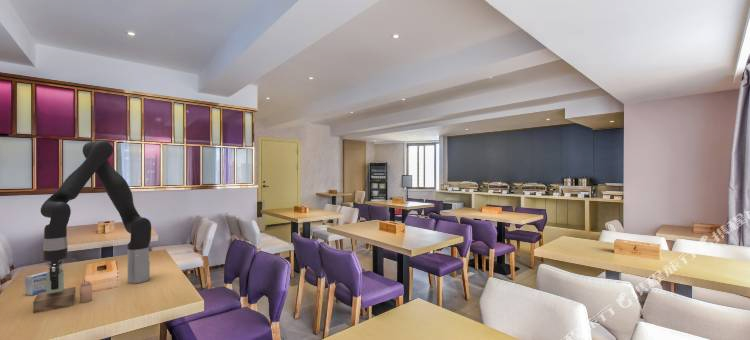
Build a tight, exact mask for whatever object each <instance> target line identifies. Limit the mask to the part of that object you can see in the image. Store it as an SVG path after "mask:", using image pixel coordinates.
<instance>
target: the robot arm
mask: <svg viewBox="0 0 750 340" xmlns="http://www.w3.org/2000/svg"><path fill="white" fill-rule="evenodd" d="M113 153H114V146H113V145H112V144H111V142H109V141H106V140H100V139H99V140H94V141H88V142H86V143H85V144H84V145H83V147H82V154H83V156H84V158H85V160H84V161H83V162H82V163H81V164H80V165H79V166H78V167H77V168H76V169H75V170H74V171H72V172H71V174H69V175H68V176H67V178H66V179H64V180H63V183H62V184H61V185H60V187H59V188H58V190H56V191H55V192H54V193H53V194H52V195H50V197H48V198H47V199H46V200H45V201H44V202H43V204H42V205H41V207H40V214H41V215H42V216H43V217H45V218H50V221H49V224H46V225H45V226H44V230H43V238H44V239H43V244H42V245H43V247H42V249H43V250H42V251H43V252H42V253H43V254H42V255H43V256H42V257H43V258H42V260H43V261H44V262H50V263H49V264H48V270H49V271H48V272H49V275H50V281H51V290H55V289H58V280H59V274H60V273H61V270H63V268H62V267H63V262H62V260H64V259H66V258H67V257H68V252H69V251H68V249H69V248H68V245H69V244H68V235H67V234H68V230H67V227H68V224H69V221H70V217H71V213H72V210H71V207H70V205H69V204H68V203H69V202H70V201H73V200H75V199H76V198H77V197H78V196H79V194H80V193H81V191H82V190H83V189H84V187H85V186H86V184H87V183H88V181H90V179H91V178H92V176H94V174H95V173H96V176H97V177H98V179H99V180H100V183H101V184H102V186H103V188H104V191H105V192H106V194H107V196H108V197H109V199H110V201H111V203H112V204H113V206H114V208H115V209H116V211H117V212H118V214H119V216H120V219H121V222H122V224H123V227H124V229H125V231H126V232H127V233H129V234H130V241H129V242H128V243H127V280H126V281H127V283H128V284H140V283H145V282H148V281H150V279H151V278H150V277H151V276H150V275H151V273H150V272H151V271H150V270H151V269H150V267H151V266H150V265H151V264H150V243H151V240H152V223H151V221H150V220H149V219H148V218H146V217H142V216H141V215H140V213H139V212H138V210H137V209H136V207H135V205H134V204H135V203H134V197H133V193H132V189H131V188H130V186H129V184H128V182H127V180H126V179H125V178H124V177H123V176H122V175H121V174H120V173H119V172H118V171H117V170H116V169H115V168H114V167H113V166H112V165H111V162H110V161H109V159H110V158H111V157H112V155H113ZM53 275H56V277H52V276H53Z"/></svg>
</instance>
